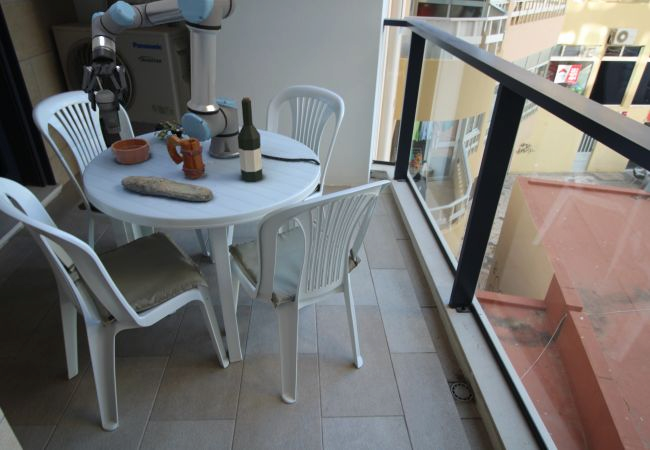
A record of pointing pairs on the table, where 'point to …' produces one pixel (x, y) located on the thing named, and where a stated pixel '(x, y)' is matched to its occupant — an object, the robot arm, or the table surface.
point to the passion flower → (172, 128)
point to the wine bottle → (249, 146)
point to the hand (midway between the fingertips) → (105, 109)
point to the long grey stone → (166, 188)
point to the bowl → (131, 150)
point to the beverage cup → (108, 109)
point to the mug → (187, 155)
